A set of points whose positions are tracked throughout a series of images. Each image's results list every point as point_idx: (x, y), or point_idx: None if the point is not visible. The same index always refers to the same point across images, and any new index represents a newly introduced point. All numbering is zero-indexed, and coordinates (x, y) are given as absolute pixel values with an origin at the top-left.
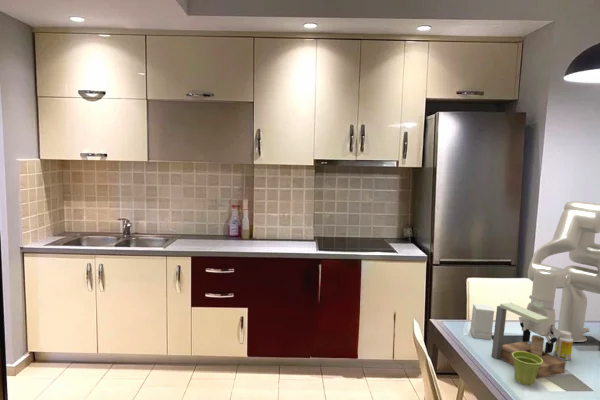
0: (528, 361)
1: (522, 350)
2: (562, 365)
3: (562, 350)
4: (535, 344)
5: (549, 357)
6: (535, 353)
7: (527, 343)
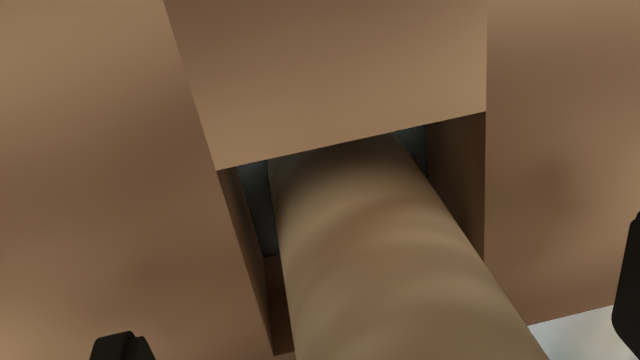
0: None
1: (493, 70)
2: None
3: None
4: (366, 319)
5: (193, 336)
6: (313, 208)
7: None
